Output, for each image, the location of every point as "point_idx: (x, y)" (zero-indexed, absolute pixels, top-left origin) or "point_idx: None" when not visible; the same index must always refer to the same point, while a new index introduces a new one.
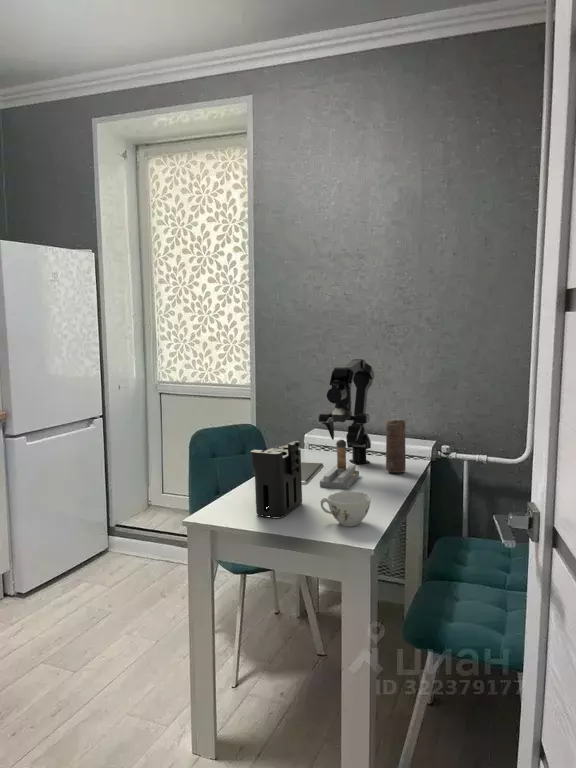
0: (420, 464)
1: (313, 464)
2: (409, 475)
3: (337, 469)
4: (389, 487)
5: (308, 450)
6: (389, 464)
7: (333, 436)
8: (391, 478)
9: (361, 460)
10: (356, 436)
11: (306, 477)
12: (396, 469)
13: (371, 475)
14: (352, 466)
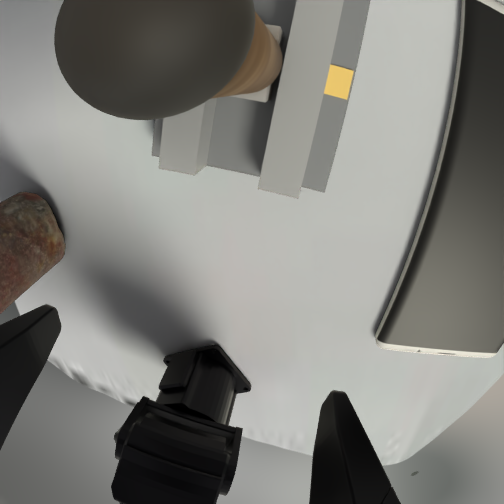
0: (24, 313)
1: (427, 323)
2: (2, 186)
3: (279, 26)
4: (36, 3)
5: (388, 462)
6: (21, 212)
7: (322, 432)
8: (35, 131)
9: (187, 357)
10: (10, 326)
11: (481, 66)
12: (14, 195)
13: (110, 167)
14: (173, 135)
